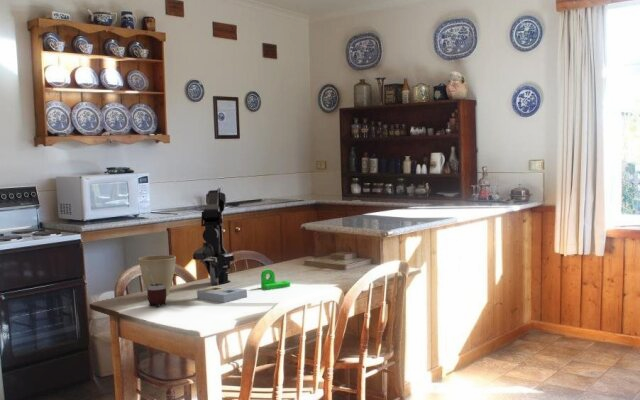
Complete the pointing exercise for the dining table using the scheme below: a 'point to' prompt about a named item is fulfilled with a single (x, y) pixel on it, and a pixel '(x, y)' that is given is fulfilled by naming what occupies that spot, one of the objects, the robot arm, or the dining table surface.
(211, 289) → the socket board
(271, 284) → the mechanical part
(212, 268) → the pin
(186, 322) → the dining table surface
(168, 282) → the plant pot
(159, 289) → the mate gourd
